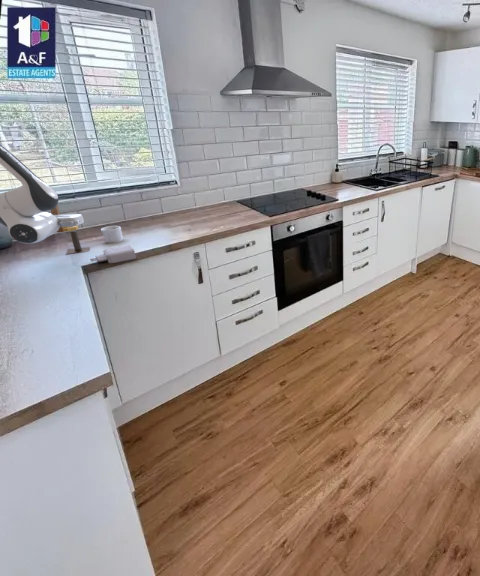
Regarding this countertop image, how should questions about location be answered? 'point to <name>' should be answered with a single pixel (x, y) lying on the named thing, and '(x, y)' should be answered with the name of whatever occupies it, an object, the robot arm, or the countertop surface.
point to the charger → (116, 254)
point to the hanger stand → (76, 244)
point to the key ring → (62, 229)
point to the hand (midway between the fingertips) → (57, 216)
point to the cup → (112, 234)
